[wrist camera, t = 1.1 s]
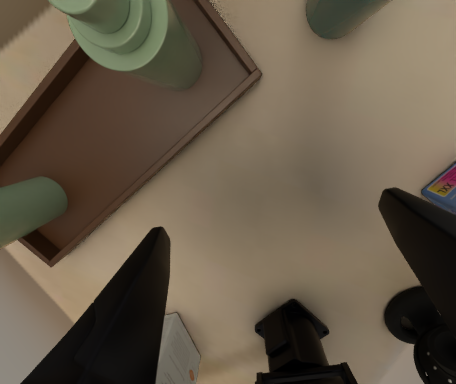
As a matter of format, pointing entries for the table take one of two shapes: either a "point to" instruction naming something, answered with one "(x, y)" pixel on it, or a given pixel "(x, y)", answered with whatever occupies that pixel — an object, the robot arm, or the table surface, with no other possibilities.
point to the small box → (177, 354)
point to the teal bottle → (340, 15)
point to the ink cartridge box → (443, 190)
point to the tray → (115, 128)
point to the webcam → (424, 336)
